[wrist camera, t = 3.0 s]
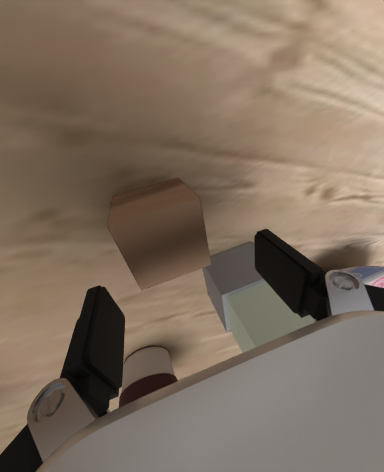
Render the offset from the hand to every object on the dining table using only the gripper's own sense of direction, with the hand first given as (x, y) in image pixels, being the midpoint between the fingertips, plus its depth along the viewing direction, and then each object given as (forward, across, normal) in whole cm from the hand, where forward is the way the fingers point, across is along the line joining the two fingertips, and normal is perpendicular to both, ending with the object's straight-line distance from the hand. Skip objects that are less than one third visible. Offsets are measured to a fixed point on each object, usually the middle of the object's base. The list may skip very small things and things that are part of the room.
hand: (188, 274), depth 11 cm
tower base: (+9, -6, +10) cm, 15 cm away
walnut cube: (+9, +1, 0) cm, 9 cm away
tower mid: (+3, -6, +11) cm, 13 cm away
